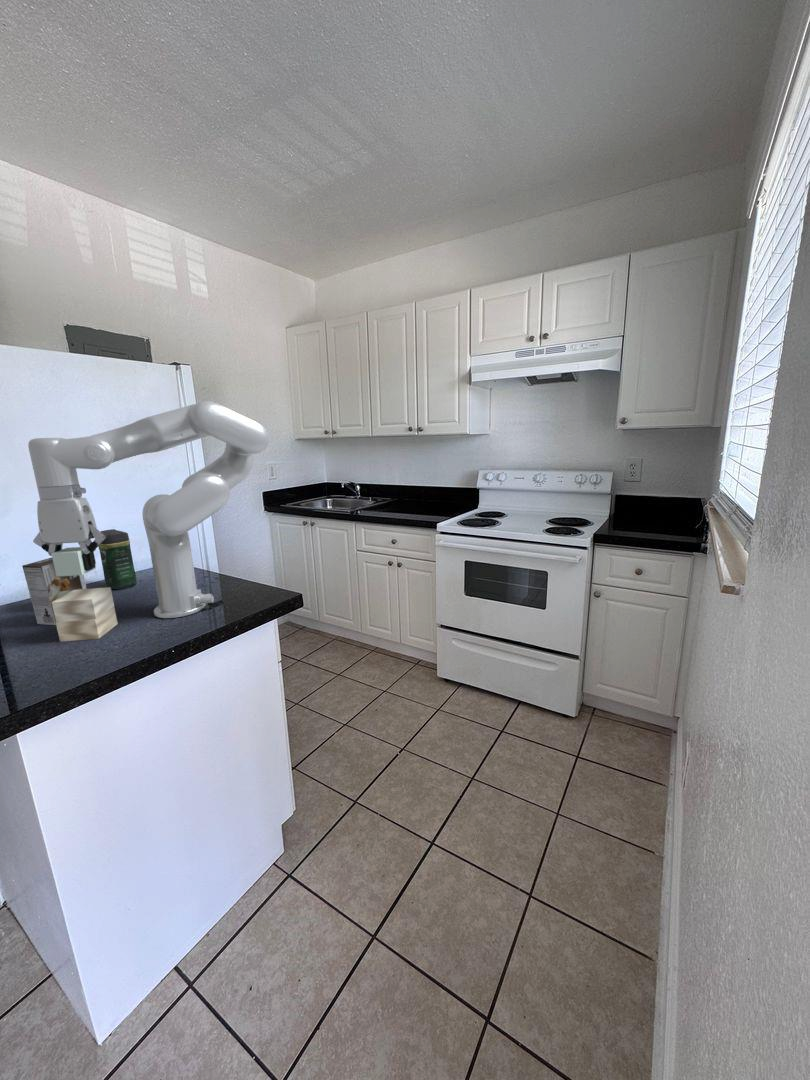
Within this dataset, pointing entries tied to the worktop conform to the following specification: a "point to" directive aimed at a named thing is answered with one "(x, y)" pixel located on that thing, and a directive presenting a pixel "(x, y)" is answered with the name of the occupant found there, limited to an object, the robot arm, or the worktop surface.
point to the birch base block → (87, 627)
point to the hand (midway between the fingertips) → (76, 569)
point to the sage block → (69, 562)
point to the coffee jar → (117, 559)
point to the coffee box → (47, 588)
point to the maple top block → (83, 604)
